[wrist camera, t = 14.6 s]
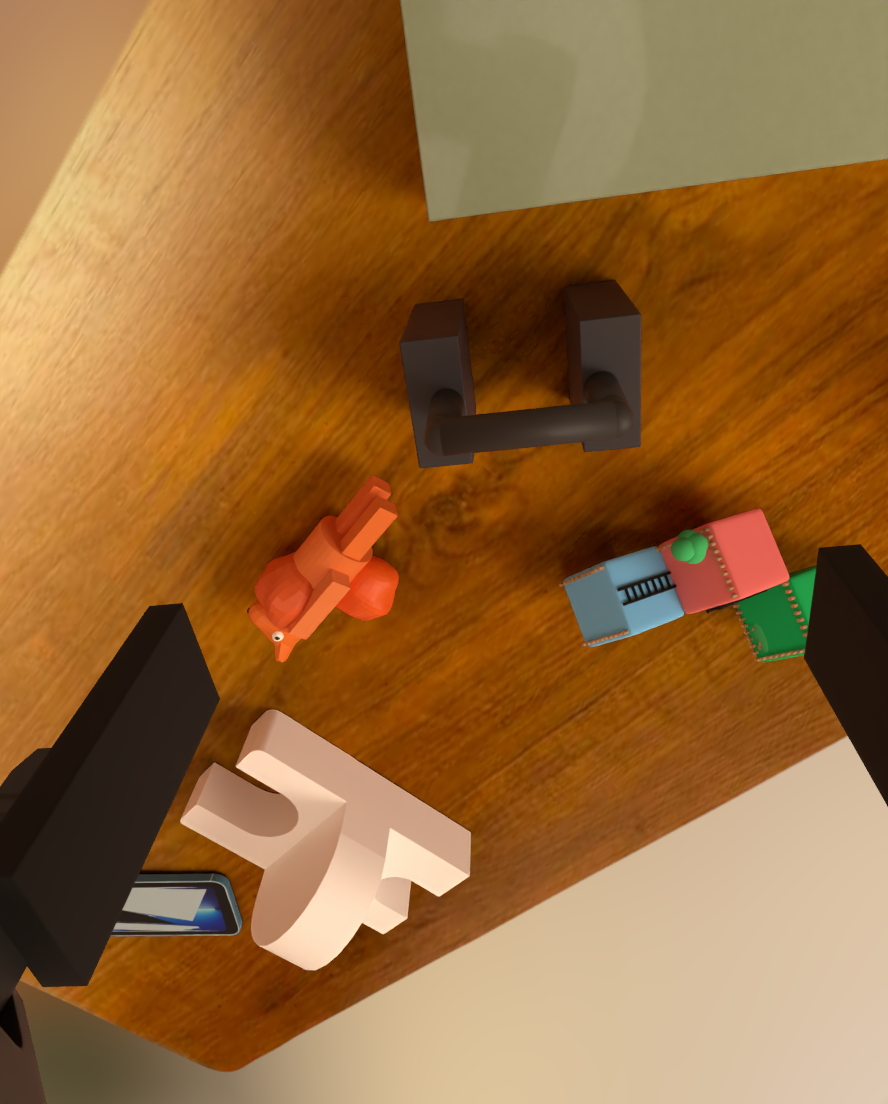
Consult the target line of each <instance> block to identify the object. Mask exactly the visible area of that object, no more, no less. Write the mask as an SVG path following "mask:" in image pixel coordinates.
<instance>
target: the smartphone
mask: <svg viewBox="0 0 888 1104" xmlns="http://www.w3.org/2000/svg"><path fill="white" fill-rule="evenodd" d="M241 927H242V919H241V916H240V913H239V910H238V907H237V903H236V900H235V897H234V894H233V891H232V888H231V885H230V882H229V880H228V879H227V878H226V877H225V876H223V875H220V874H139V875H138V877H137V879H136V882H135V884H134V886H133V888H132V890H131V892H130V895H129V897H128V899H127V901H126V903H125V905H124V908H123V910H122V912H121V914H120V916H119V918H118V921H117V923H116V925H115V927H114V929H113V931H112V933H111V936H232V935H236V934H238V933H239V932H240V930H241Z"/></svg>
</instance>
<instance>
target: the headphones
mask: <svg viewBox="0 0 888 1104" xmlns="http://www.w3.org/2000/svg"><path fill="white" fill-rule="evenodd" d="M564 295H565V317H566V338H567V359H568V380H569V399H570V403H571V405H564V406H554V407H545V408H536V409H526V410H517V411H507V412H498V413H488V414H479V415H476V404H475V395H474V387H473V378H472V369H471V360H470V351H469V343H468V334H467V325H466V316H465V307H464V300H463V299H457V300H449V301H441V302H433V303H425V304H417V305H415V306H414V308H413V311H412V313H411V316H410V318H409V321H408V323H407V326H406V328H405V331H404V333H403V336H402V338H401V341H400V350H401V356H402V362H403V369H404V375H405V381H406V387H407V393H408V400H409V406H410V412H411V418H412V425H413V431H414V437H415V443H416V450H417V456H418V462H419V467H420V468H428V467H439V466H449V465H459V464H469V463H473V457H474V453H478V452H488V451H498V450H508V449H518V448H528V447H538V446H548V445H558V444H568V443H578V442H582V446H583V449H584V452H592V451H602V450H612V449H622V448H632V447H640V446H641V314H640V312H639V311H638V310H637V308H636V307H635V306H634V304H633V303H632V302H631V300H630V299H629V298H628V296H627V295H626V294H625V292H624V291H623V290H622V289H621V287H620V286H619V285H618V283H617V282H616V281H615V280H610V281H602V282H593V283H585V284H577V285H569V286H564Z"/></svg>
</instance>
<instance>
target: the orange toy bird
mask: <svg viewBox="0 0 888 1104" xmlns="http://www.w3.org/2000/svg"><path fill="white" fill-rule="evenodd" d="M390 495H391V490H390V486H389V483H388V482H386V481H384V480H382V479H380V478H378V477H376V476H374V475H371V476H370V478H369V479H368V480H367V481H366V483H365V484H364V485H363V486H362V488H361V489H360V490H359V491H358V493H357V494H356V495H355V496H354V498H353V499H352V500H351V501H350V503H349V504H348V505H347V506H346V507H345V509H344V510H343V511H342V512H341V514H340V515H339V516H338V517H336V516H326V517H324V518H323V519H322V520H321V521H320V522H319V523H318V525H317V526H316V527H315V528H314V530H313V531H312V532H311V533H310V535H309V536H308V537H307V539H306V540H305V541H304V542H303V544H302V545H301V546H300V547H299V549H298V550H297V551H296V552H293V553H291V554H289V555H286V556H282V557H279V558H276V559H274V560H272V561H270V562H268V563H267V565H266V568H265V571H264V572H263V574H262V575H261V576H260V578H259V579H258V581H257V584H256V586H255V589H254V590H255V593H256V596H257V599H258V601H256V602H255V603H253V604H252V605H251V607H249V608H248V610H247V612H248V615H249V617H250V619H251V621H252V622H253V623H254V624H255V625H256V626H257V627H258V628H259V629H260V630H261V631H262V632H263V634H264V635H265V636H266V637H267V638H268V639H269V640H271V641H272V642H273V644H274V646H275V656H276V660H277V661H279V662H285V661H286V659H287V658H288V656H289V655H290V653H291V651H292V649H293V647H294V645H295V644H296V643H297V642H298V641H299V640H300V639H301V638H303V639H307V638H308V637H309V636H310V635H311V634H312V632H313V631H314V630H315V629H316V628H317V627H318V626H319V624H320V623H321V622H322V621H323V620H324V619H325V618H326V616H327V615H328V614H329V613H330V612H331V611H332V609H333V608H334V607H335V606H336V607H337V608H338V609H340V610H342V611H343V612H345V613H347V614H348V615H351V616H353V617H357V618H358V619H359V620H364V621H368V620H371V619H374V618H377V617H380V616H383V615H386V614H387V613H388V612H389V611H390V609H391V607H392V605H393V600H394V596H395V590H396V588H397V585H398V582H399V575H398V573H397V571H396V570H395V569H394V568H393V567H392V566H391V565H390V564H389V563H388V562H386V561H385V560H383V559H381V558H379V557H376V556H372V555H373V550H372V547H371V546H372V545H373V544H374V543H375V542H376V541H377V539H378V538H379V537H380V536H381V535H382V534H383V532H384V531H385V530H386V529H387V528H388V527H389V525H390V524H391V523H392V522H393V521H394V520H395V518H396V517H397V516H398V515H397V511H396V507H395V504H394V503H392V502H390V501H388V500H387V499H388V498H389V497H390Z"/></svg>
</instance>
